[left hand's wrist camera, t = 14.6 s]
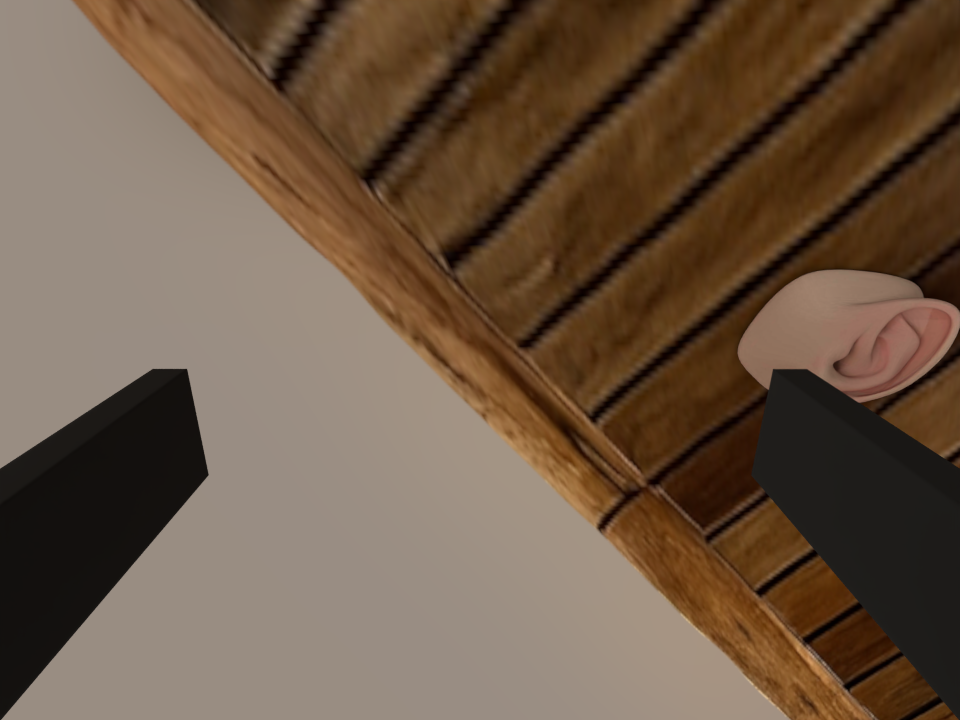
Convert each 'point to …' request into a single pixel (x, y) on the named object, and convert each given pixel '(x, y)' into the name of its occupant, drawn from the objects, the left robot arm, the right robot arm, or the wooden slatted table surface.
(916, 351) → the anatomical model
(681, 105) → the wooden slatted table surface
